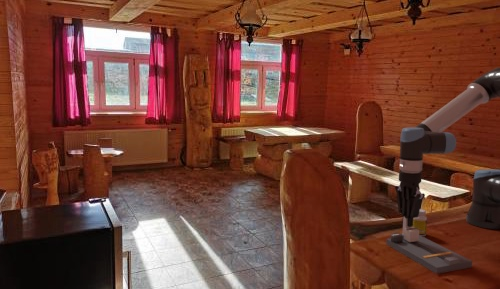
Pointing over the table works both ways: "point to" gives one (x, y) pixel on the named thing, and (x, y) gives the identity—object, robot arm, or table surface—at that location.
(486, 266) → the table surface
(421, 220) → the supplement bottle
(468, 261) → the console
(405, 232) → the fader knob
